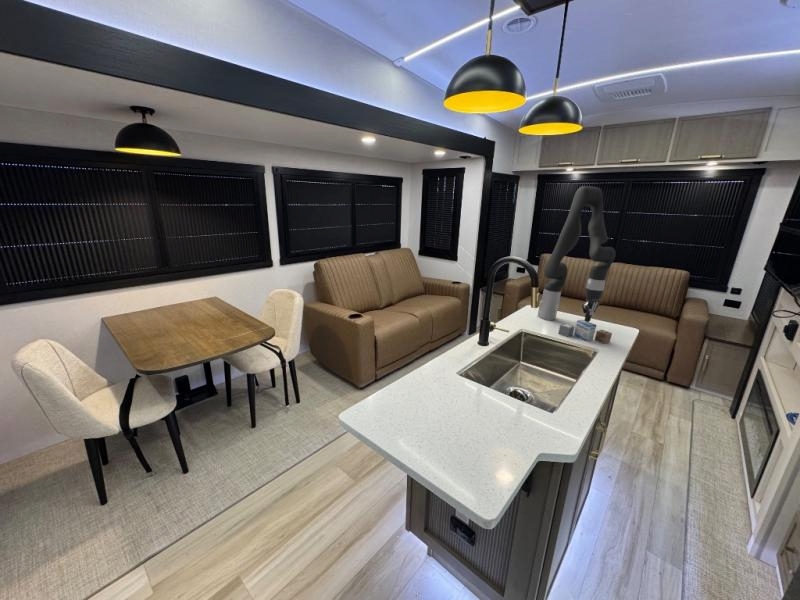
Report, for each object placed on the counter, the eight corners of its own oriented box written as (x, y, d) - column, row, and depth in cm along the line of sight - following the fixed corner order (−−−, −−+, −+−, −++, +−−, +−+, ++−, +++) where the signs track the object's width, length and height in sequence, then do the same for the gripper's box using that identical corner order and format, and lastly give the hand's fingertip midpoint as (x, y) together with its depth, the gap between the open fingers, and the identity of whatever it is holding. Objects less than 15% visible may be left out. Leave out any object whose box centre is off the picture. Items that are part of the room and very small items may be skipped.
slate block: (558, 333, 168) (560, 324, 166) (563, 332, 170) (565, 323, 169) (567, 337, 164) (569, 328, 162) (572, 335, 166) (574, 326, 165)
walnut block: (594, 340, 161) (596, 330, 160) (599, 338, 164) (601, 329, 163) (604, 344, 158) (607, 334, 156) (609, 342, 160) (612, 332, 159)
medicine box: (573, 335, 166) (576, 320, 163) (578, 334, 168) (582, 319, 165) (587, 341, 159) (591, 325, 157) (593, 340, 161) (596, 324, 158)
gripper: (593, 284, 162) (586, 316, 167) (579, 287, 155) (572, 320, 160) (609, 288, 156) (601, 321, 161) (596, 291, 149) (588, 325, 154)
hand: (587, 321), depth 161 cm, fingers closed
